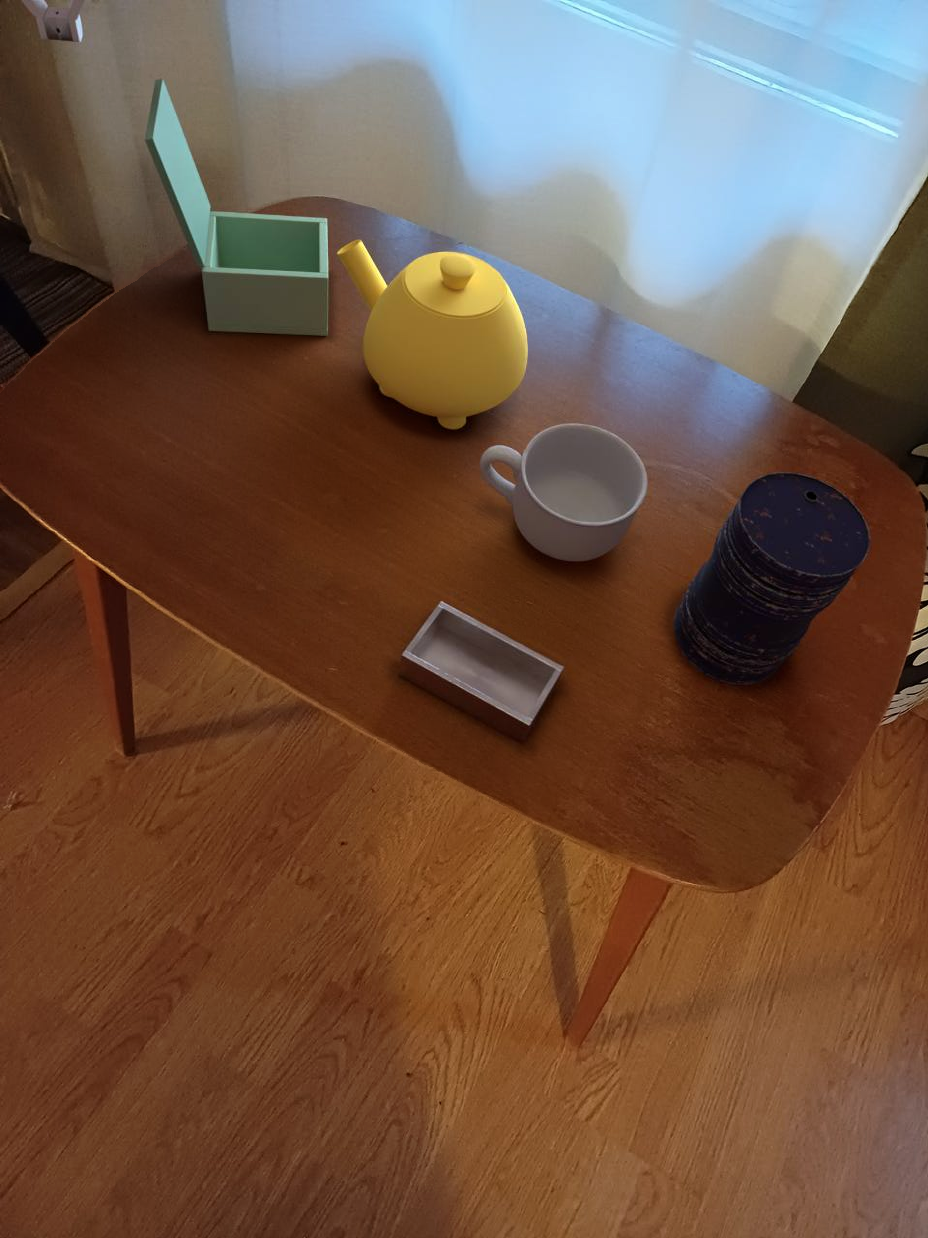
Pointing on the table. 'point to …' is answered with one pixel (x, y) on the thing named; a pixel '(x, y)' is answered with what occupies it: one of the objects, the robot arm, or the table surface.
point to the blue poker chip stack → (769, 576)
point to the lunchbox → (266, 274)
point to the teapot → (441, 333)
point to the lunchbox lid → (178, 172)
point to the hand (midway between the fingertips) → (62, 37)
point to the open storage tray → (480, 671)
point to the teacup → (571, 489)
